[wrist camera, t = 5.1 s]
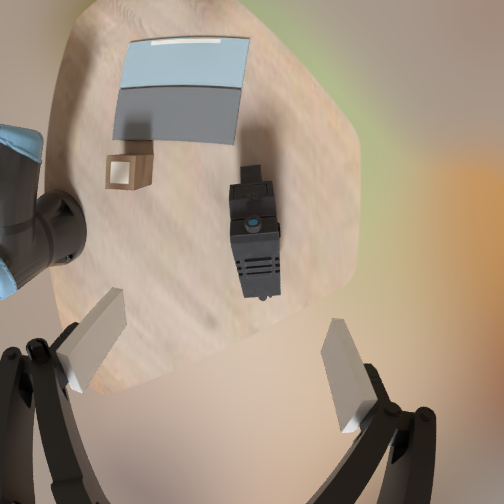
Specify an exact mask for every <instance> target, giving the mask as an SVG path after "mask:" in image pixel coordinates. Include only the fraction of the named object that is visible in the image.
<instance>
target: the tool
mask: <svg viewBox="0 0 504 504" xmlns="http://www.w3.org/2000/svg"><path fill="white" fill-rule="evenodd" d="M229 208H230V219H231V221H230V242H231V248H232V252H233V256H234V260H235V261H236V267H237V272H238V273H239V279H240V283H241V287H242V291H243V295H244V298H249V297H259V299H260V300H261V301H265V300H266V299H267V296H269V297H270V298H271V297H272V296H274V295H281V290H280V258H279V257H280V252H279V238H280V225H279V223H277V218H276V208H275V197H274V190H273V184H272V181H264V182H262V177H261V167H260V165H254V166H244V167H241V184H234V185H230V191H229Z"/></svg>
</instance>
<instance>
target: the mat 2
mask: <svg viewBox="0 0 504 504" xmlns="http://www.w3.org/2000/svg"><path fill="white" fill-rule="evenodd" d="M240 97H241V90H235V89H222V88H201V87H160V88H140V89H127V90H119V94H118V100H117V107H116V114H115V121H114V130H113V139H112V140H173V141H192V142H206V143H218V144H229V145H234V140H235V133H236V125H237V118H238V111H239V104H240Z"/></svg>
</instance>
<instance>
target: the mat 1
mask: <svg viewBox="0 0 504 504" xmlns="http://www.w3.org/2000/svg"><path fill="white" fill-rule="evenodd" d="M249 41H250V40H249V39H239V38H217V37H192V38H170V39H158V40H148V41H140V42H133V43H129V46H128V50H127V54H126V59H125V63H124V68H123V72H122V77H121V83H120V88H129V87H142V86H162V85H201V86H222V87H236V88H242V84H243V78H244V71H245V65H246V59H247V53H248V47H249Z"/></svg>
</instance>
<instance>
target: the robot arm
mask: <svg viewBox="0 0 504 504" xmlns="http://www.w3.org/2000/svg"><path fill="white" fill-rule="evenodd" d="M42 149H43V136H42V135H41V133H40V132H38V131H35V130H31V129H26V128H21V127H15V126H10V125H4V124H0V300H2V299H4V298H6V297H7V296H9V295H11V294H12V293H15V292H16V291H17V290H18V289H20V288H21V287H22V286H23V285H25V284H26V283H27V282H29V281H30V280H31V279H32V278H34V277H35V276H37V275H38V274H39V273H40V272H42V271H43V270H44V269H46V268H48V267H52V266H59V265H65V264H68V263H70V262H72V261H73V260H74V259H76V258H77V257H78V256H79V255H80V254H81V253H82V251H83V249H84V246H85V242H86V224H85V220H84V216H83V214H82V211H81V209H80V207H79V205H78V204H77V202H76V201H75V200H74V199H73V198H72V197H71V196H70V195H69V194H67V193H65V192H63V191H59V190H56V191H51V192H48V193H45V194H43V195H42V196H40V197H39V198H38V199H37V189H38V180H39V173H40V166H41V164H42V160H41V157H42ZM126 325H127V321H126V314H125V305H124V296H123V289H118V288H114V287H112V288H111V290H110V291H109V292H108V293H107V294H106V295H105V296H104V297H103V298H102V299H101V300H100V301H99V302H98V303H97V305H96V306H95V307H94V308H93V309H92V310H91V311H90V312H89V313H88V314H87V316H86V317H85V318H84V319H83V320H82V321H81V322H80V323H77V322H74V323H72V324H71V325H69V326H68V327H67V328H66V329H65V330H64V331H63V332H62V333H61V335H60V337H58V338H57V339H56V340H55V341H54V343H53V344H52V345H51V346H50V347H48V344H47V342H46V341H45V340H44V339H42V338H36V339H32V340H31V341H29V342H28V343H27V345H26V350H27V353H28V355H29V356H25V355H22V353H21V351H20V349H19V348H17V347H10V348H8V349H6V350H5V351H4V352H3V354H2V357H1V360H0V504H35V495H34V483H33V461H32V460H33V457H32V451H33V450H32V449H33V425H34V413H35V408H36V414H37V420H38V425H39V430H40V435H41V440H42V444H43V448H44V452H45V456H46V460H47V463H48V467H49V470H50V473H51V476H52V479H53V483H52V484H51V490H52V493H53V496H54V499H55V501H56V504H110V502H109V501H108V500H107V498H106V497H105V495H104V493H103V491H102V489H101V487H100V485H99V482H98V480H97V478H96V476H95V474H94V471H93V469H92V467H91V464H90V462H89V459H88V457H87V454H86V452H85V449H84V446H83V443H82V440H81V437H80V435H79V431H78V429H77V425H76V422H75V419H74V415H73V412H72V409H71V404H70V401H69V396H68V392H67V389H66V387H65V386H66V385H67V383H68V382H69V384H70V386H71V389H73V390H75V391H77V392H80V393H84V391H85V390H86V388H87V386H88V385H89V383H90V381H91V380H92V378H93V376H94V375H95V373H96V371H97V370H98V368H99V367H100V365H101V363H102V362H103V360H104V359H105V357H106V356H107V354H108V352H109V351H110V349H111V348H112V346H113V345H114V343H115V342H116V340H117V339H118V337H119V336H120V334H121V333H122V331H123V330H124V328H125V327H126ZM321 355H322V358H323V362H324V366H325V370H326V374H327V377H328V381H329V385H330V389H331V393H332V397H333V401H334V405H335V409H336V413H337V417H338V422H339V425H340V430H341V433H347V432H355V431H356V429H357V428H358V427H359V426H360V429H361V432H360V434H359V435H358V436H357V437H356V439H355V440H354V441H353V442H354V443H353V444H352V446H351V447H350V448H349V450H348V451H347V453H346V454H345V456H344V457H343V459H342V460H341V461H340V463H339V464H338V465H337V467H336V468H335V470H334V471H333V472H332V473H331V475H330V476H329V477H328V478H327V480H326V481H325V482H324V483H323V485H322V486H321V487H320V488H319V489H318V491H317V492H316V493H315V494H314V495H313V496H312V498H311V499H310V500H309V501H308V502H307V503H306V504H354V503H355V502H356V500H357V499H358V497H359V496H360V494H361V493H362V491H363V489H364V488H365V486H366V485H367V483H368V482H369V480H370V478H371V477H372V475H373V473H374V472H375V470H376V468H377V466H378V464H379V463H380V461H381V459H382V457H383V455H384V453H385V451H386V449H387V447H388V446H391V447H390V452H389V457H388V462H387V466H386V471H385V475H384V479H383V483H382V487H381V490H380V494H379V497H378V501H377V504H430V500H431V493H432V486H433V476H434V467H435V453H436V452H435V451H436V415H435V413H434V412H433V410H431V409H430V408H428V407H420V408H418V409H417V410H416V412H415V413H414V412H407V411H402V410H401V408H400V407H399V406H398V405H397V404H396V403H393V402H391V401H390V399H389V396H388V394H387V392H386V390H385V387H384V385H383V383H382V381H381V378H380V377H379V374H378V372H377V370H376V369H375V367H374V366H373V365H372V364H363V362H362V360H361V357H360V355H359V353H358V351H357V348H356V346H355V344H354V341H353V339H352V337H351V335H350V332H349V330H348V328H347V326H346V323H345V321H344V319H335V318H332V321H331V324H330V327H329V330H328V333H327V335H326V338H325V341H324V344H323V347H322V350H321Z"/></svg>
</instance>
